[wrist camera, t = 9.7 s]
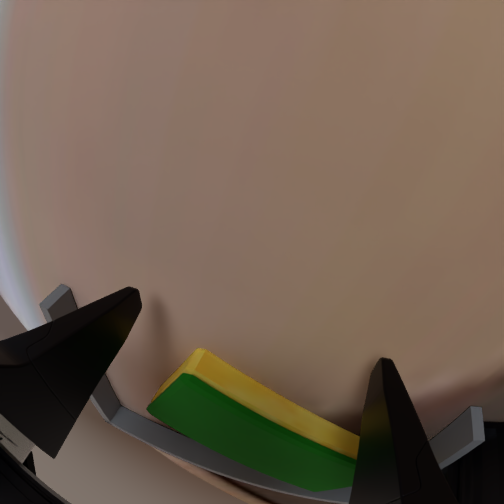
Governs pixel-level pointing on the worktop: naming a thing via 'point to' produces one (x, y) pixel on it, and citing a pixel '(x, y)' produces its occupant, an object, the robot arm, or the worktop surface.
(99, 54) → the worktop surface
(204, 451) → the box
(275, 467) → the dish sponge
